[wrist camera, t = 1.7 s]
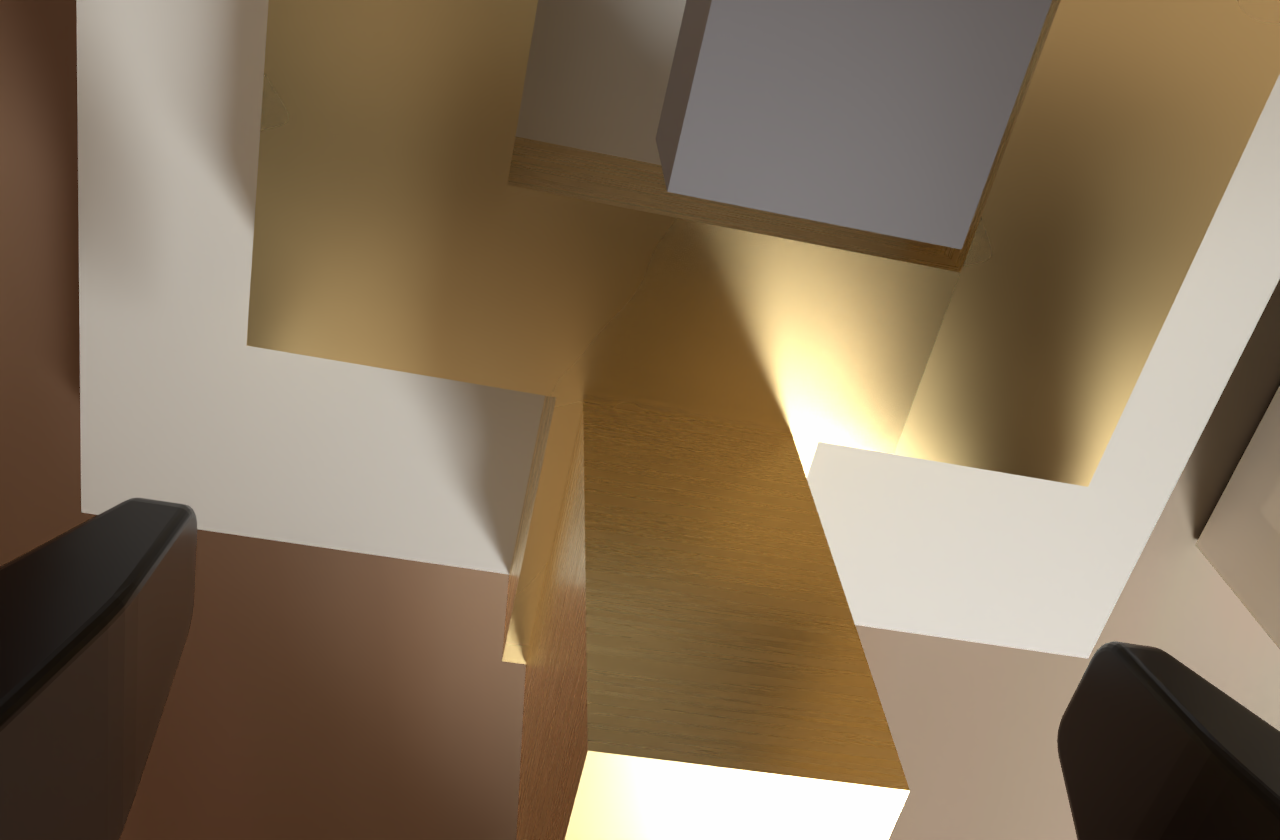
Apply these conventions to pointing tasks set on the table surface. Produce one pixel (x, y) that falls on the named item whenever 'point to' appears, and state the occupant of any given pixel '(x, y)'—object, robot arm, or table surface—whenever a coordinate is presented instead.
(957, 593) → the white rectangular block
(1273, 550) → the tray
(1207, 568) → the table surface
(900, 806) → the tan notched block
